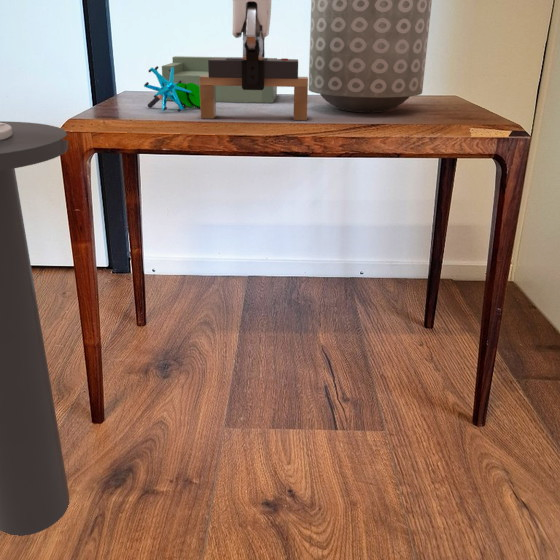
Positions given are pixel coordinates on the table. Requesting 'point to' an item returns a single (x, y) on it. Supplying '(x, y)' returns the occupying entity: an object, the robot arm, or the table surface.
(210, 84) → the wooden bench stand
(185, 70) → the sofa
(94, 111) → the table surface
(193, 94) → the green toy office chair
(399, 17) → the planter
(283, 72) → the bar
